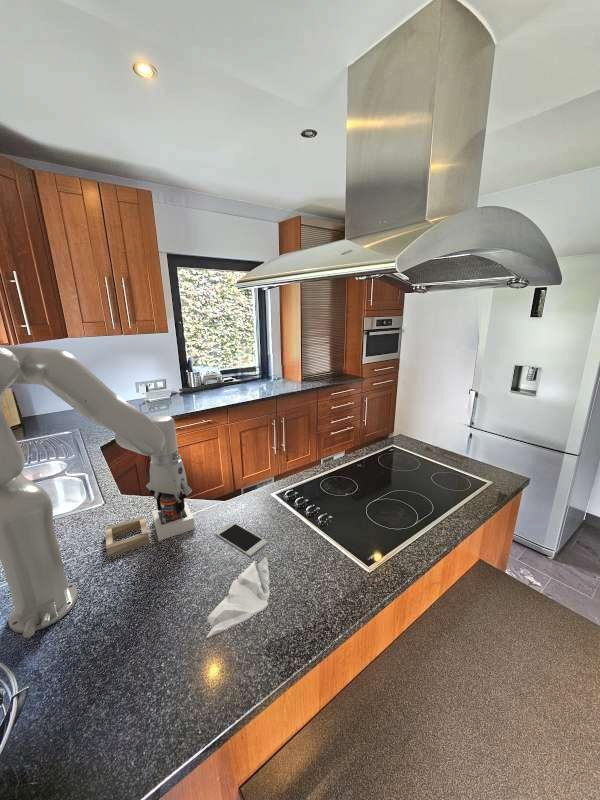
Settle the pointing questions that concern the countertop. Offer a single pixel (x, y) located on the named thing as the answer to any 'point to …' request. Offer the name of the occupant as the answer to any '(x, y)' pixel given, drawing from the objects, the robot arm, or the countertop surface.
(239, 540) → the smartphone
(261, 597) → the cloth
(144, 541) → the block
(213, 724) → the countertop surface
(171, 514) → the supplement bottle
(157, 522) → the socket block
